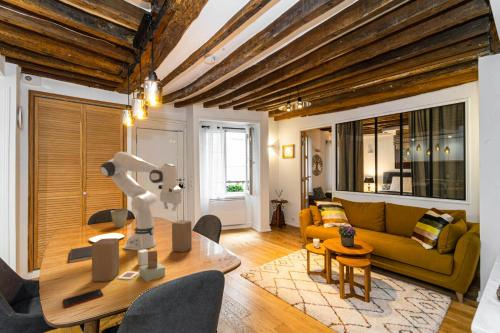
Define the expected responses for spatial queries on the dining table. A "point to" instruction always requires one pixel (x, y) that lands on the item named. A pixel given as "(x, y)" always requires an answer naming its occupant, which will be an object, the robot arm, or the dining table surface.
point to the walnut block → (152, 259)
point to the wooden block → (105, 259)
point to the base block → (151, 272)
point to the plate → (106, 236)
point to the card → (128, 275)
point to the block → (181, 236)
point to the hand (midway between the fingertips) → (170, 209)
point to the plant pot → (119, 217)
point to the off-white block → (143, 257)
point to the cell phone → (82, 298)
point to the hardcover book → (80, 254)
